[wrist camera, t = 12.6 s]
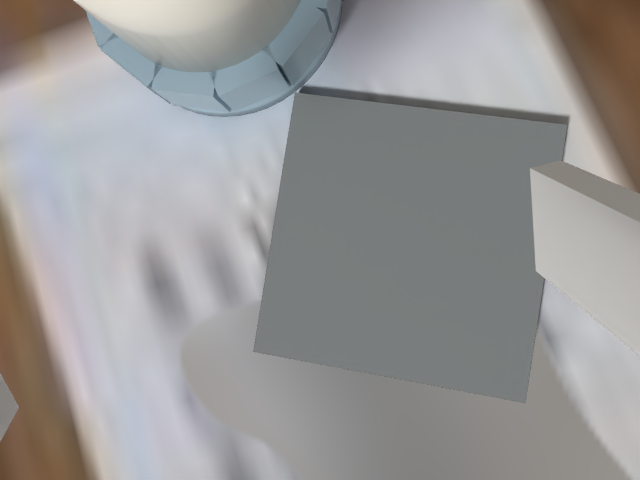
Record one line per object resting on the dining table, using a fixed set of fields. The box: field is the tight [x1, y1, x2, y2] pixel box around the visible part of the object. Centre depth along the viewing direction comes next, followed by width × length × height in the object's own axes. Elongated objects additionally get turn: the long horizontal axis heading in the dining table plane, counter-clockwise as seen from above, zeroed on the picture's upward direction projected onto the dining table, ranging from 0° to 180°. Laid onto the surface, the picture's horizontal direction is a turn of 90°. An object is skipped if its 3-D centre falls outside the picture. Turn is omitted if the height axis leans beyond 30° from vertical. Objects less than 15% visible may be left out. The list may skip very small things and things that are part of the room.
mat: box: [254, 93, 567, 403], centre depth 25 cm, size 12×12×1 cm
